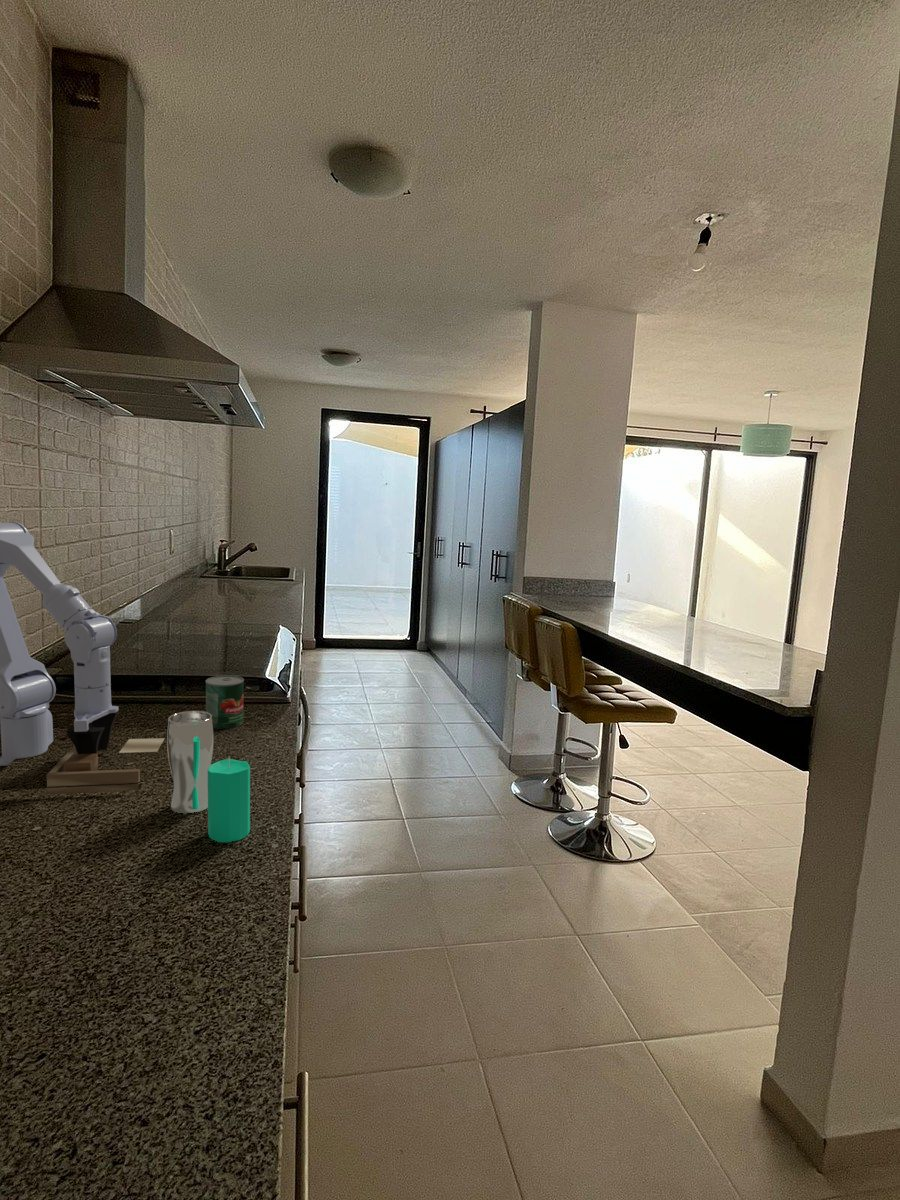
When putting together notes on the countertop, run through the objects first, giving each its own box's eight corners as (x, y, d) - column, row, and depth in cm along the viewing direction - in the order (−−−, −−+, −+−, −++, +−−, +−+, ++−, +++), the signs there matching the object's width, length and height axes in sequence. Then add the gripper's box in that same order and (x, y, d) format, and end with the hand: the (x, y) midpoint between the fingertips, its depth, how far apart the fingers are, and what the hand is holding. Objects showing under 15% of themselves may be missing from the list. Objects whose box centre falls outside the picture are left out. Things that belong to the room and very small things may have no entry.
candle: (237, 845, 96) (237, 766, 94) (199, 839, 97) (199, 761, 95) (257, 826, 101) (257, 751, 100) (221, 821, 103) (221, 747, 101)
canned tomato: (236, 735, 140) (236, 685, 139) (199, 733, 140) (199, 683, 139) (248, 723, 148) (248, 676, 147) (213, 722, 148) (213, 674, 147)
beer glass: (222, 802, 109) (222, 714, 107) (190, 819, 103) (189, 726, 101) (191, 793, 112) (191, 707, 110) (158, 809, 106) (156, 718, 104)
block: (73, 773, 115) (72, 754, 114) (98, 772, 116) (97, 753, 115) (65, 783, 111) (64, 763, 110) (91, 782, 112) (90, 762, 111)
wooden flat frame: (89, 747, 130) (89, 730, 130) (165, 744, 133) (164, 728, 133) (47, 794, 109) (46, 774, 108) (138, 790, 112) (138, 771, 112)
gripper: (105, 695, 112) (107, 771, 114) (127, 674, 126) (128, 742, 128) (59, 696, 110) (62, 773, 112) (87, 674, 124) (89, 743, 126)
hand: (94, 757), depth 120 cm, fingers open, 7 cm apart
